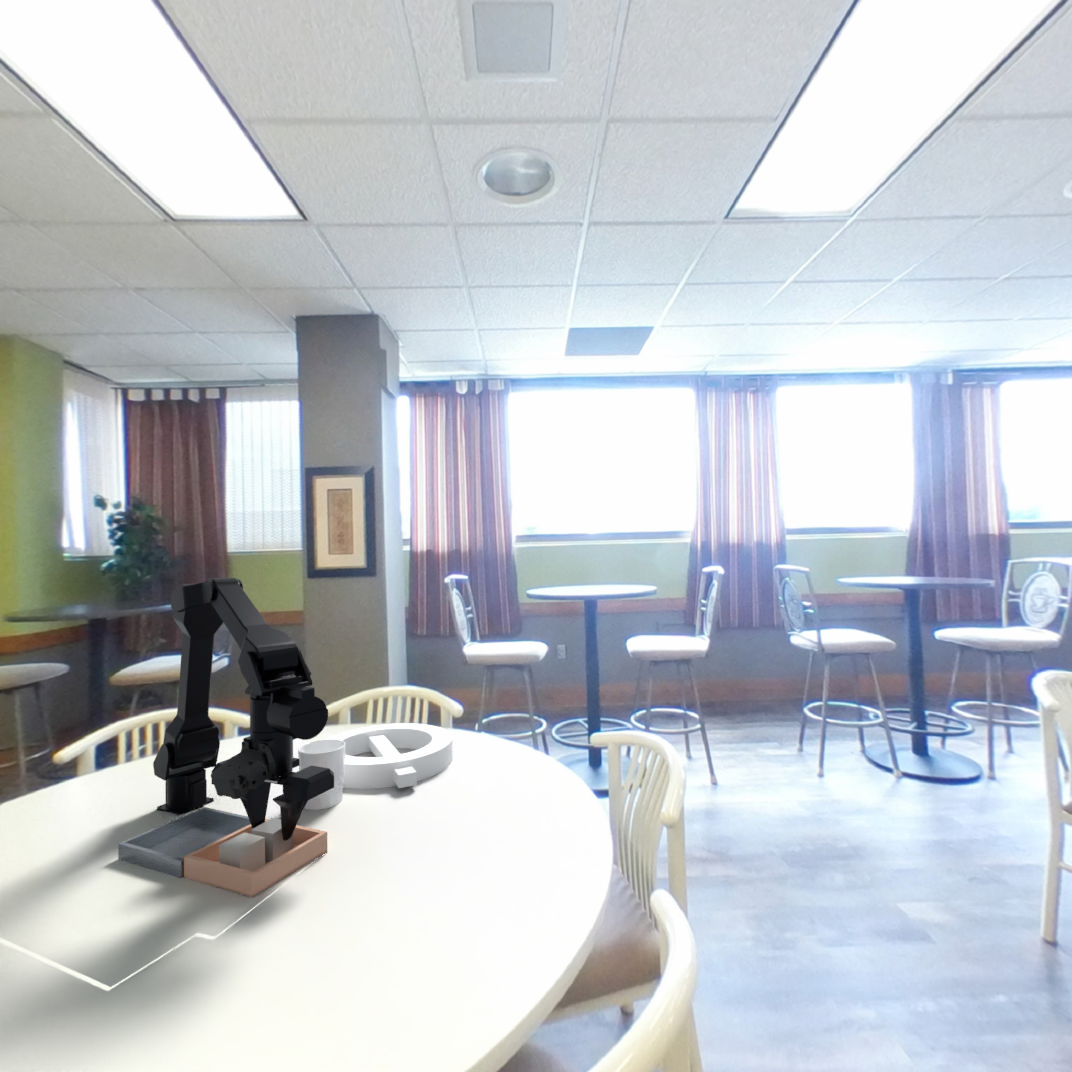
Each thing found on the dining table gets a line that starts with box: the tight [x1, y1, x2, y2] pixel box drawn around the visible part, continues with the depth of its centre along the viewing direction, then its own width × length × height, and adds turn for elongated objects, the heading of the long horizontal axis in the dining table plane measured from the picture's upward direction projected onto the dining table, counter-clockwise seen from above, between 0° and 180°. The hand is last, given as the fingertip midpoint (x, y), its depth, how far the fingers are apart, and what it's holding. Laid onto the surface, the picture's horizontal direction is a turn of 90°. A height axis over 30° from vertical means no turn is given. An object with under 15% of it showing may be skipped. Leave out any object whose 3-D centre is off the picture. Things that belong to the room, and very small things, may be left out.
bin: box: [117, 806, 251, 879], centre depth 90 cm, size 14×14×2 cm
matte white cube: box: [219, 832, 265, 872], centre depth 82 cm, size 4×4×4 cm
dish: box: [183, 817, 328, 899], centre depth 84 cm, size 13×13×3 cm
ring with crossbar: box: [324, 722, 454, 790], centre depth 126 cm, size 28×28×5 cm
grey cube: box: [251, 817, 294, 862], centre depth 87 cm, size 4×4×4 cm
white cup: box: [297, 739, 345, 811], centre depth 106 cm, size 8×8×10 cm
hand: (272, 836), depth 87 cm, fingers open, 5 cm apart
